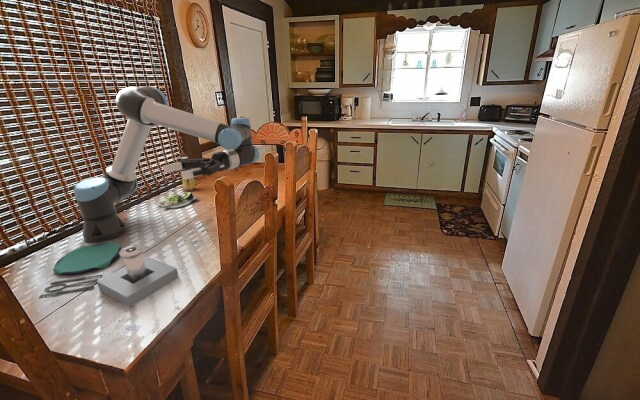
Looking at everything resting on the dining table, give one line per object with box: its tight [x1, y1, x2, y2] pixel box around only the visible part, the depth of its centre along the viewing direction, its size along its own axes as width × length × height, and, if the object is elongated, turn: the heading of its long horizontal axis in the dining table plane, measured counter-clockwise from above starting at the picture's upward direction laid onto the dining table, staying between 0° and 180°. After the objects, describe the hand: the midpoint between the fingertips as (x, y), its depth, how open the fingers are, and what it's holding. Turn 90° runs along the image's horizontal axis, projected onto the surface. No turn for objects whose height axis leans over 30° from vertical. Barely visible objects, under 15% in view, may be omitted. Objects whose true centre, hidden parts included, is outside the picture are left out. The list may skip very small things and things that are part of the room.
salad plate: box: [157, 191, 199, 209], centre depth 160 cm, size 19×18×5 cm
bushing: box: [119, 244, 148, 284], centre depth 94 cm, size 6×6×12 cm
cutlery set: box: [38, 242, 122, 299], centre depth 105 cm, size 20×30×2 cm, turn 15°
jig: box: [96, 255, 179, 308], centre depth 96 cm, size 16×16×4 cm
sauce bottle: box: [180, 156, 196, 192], centre depth 177 cm, size 6×6×20 cm
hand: (173, 172), depth 106 cm, fingers open, 13 cm apart
